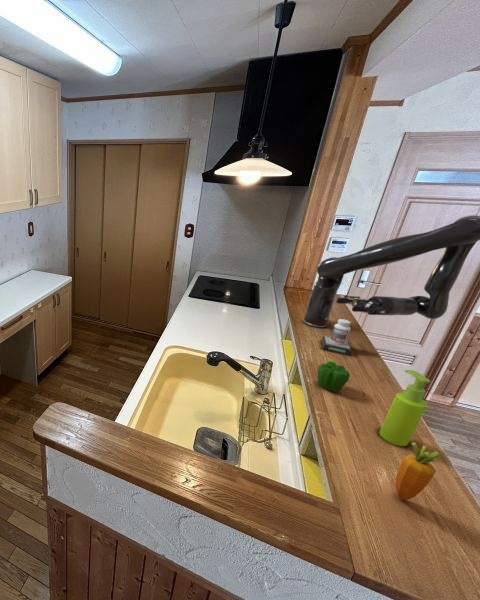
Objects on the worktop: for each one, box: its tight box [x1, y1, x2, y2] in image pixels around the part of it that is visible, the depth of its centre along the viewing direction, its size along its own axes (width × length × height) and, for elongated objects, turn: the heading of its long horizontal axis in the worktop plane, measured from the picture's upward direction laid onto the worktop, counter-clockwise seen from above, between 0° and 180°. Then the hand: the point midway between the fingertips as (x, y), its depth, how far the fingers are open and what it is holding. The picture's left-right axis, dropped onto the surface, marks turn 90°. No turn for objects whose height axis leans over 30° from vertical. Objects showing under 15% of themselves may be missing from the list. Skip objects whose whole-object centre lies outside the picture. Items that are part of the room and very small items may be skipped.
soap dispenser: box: [379, 369, 431, 447], centre depth 86 cm, size 6×7×20 cm
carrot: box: [395, 442, 441, 501], centre depth 69 cm, size 5×5×15 cm
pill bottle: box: [330, 318, 352, 345], centre depth 134 cm, size 5×5×10 cm
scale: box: [320, 335, 352, 357], centre depth 136 cm, size 9×9×3 cm
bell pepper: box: [316, 359, 350, 392], centre depth 109 cm, size 8×8×10 cm
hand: (344, 304), depth 130 cm, fingers open, 8 cm apart
